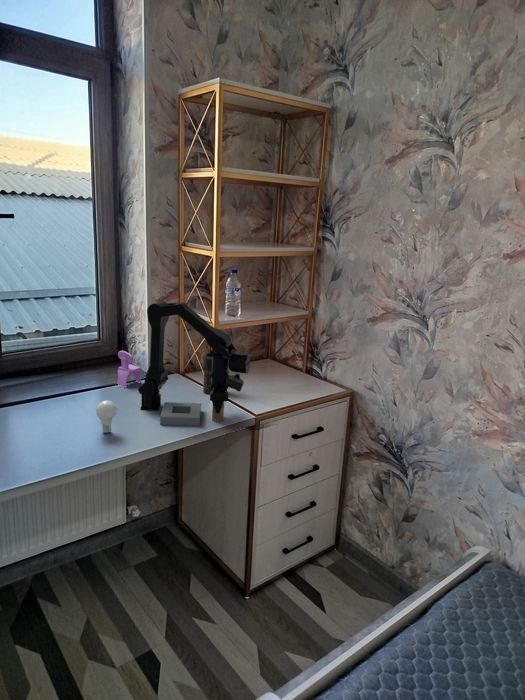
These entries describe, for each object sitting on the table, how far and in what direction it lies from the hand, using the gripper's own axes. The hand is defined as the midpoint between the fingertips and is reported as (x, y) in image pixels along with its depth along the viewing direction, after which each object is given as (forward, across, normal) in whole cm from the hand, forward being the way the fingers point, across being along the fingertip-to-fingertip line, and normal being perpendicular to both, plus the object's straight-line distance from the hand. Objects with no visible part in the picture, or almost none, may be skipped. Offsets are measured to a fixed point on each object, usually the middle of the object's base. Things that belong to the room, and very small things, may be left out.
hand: (218, 410), depth 177 cm
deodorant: (+3, +27, +3) cm, 27 cm away
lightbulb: (+3, -14, +36) cm, 39 cm away
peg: (+3, 0, 0) cm, 3 cm away
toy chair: (+3, +33, +37) cm, 50 cm away
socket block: (+3, 0, +13) cm, 13 cm away
